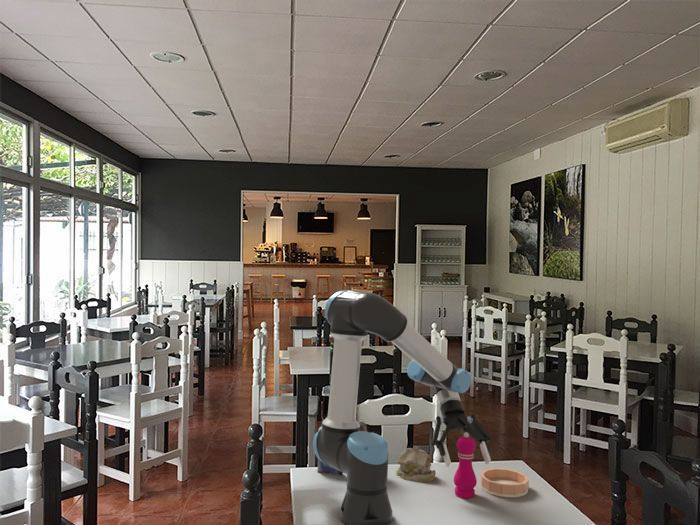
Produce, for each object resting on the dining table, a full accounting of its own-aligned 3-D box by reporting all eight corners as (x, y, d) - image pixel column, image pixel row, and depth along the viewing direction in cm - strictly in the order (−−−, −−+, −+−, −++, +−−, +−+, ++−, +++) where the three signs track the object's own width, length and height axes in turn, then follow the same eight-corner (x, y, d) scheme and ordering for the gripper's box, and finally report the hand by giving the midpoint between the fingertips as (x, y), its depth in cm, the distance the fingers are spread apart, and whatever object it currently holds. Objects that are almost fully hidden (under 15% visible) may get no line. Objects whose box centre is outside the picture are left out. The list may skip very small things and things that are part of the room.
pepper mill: (450, 496, 191) (452, 433, 191) (456, 488, 197) (458, 427, 197) (473, 500, 188) (474, 437, 188) (478, 492, 194) (480, 431, 194)
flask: (316, 472, 209) (317, 441, 209) (319, 469, 212) (320, 439, 212) (341, 476, 206) (342, 444, 206) (344, 473, 209) (345, 442, 209)
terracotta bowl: (473, 489, 197) (473, 477, 197) (491, 476, 209) (491, 465, 209) (518, 501, 188) (518, 488, 188) (534, 487, 200) (534, 475, 200)
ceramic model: (390, 476, 207) (391, 447, 207) (402, 467, 217) (403, 439, 217) (429, 484, 201) (429, 454, 200) (440, 474, 211) (440, 445, 210)
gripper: (480, 408, 210) (500, 466, 196) (412, 411, 204) (428, 471, 190) (487, 397, 205) (508, 455, 191) (418, 399, 199) (435, 460, 185)
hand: (468, 463), depth 190 cm, fingers open, 13 cm apart
